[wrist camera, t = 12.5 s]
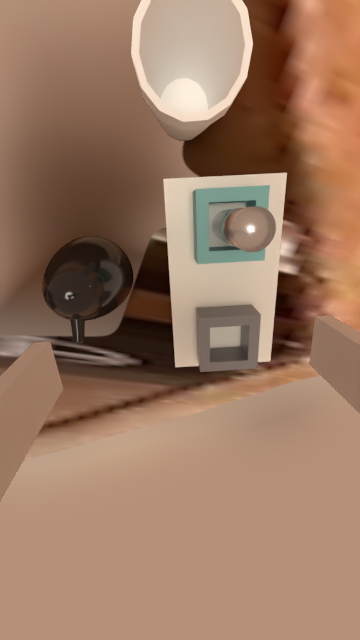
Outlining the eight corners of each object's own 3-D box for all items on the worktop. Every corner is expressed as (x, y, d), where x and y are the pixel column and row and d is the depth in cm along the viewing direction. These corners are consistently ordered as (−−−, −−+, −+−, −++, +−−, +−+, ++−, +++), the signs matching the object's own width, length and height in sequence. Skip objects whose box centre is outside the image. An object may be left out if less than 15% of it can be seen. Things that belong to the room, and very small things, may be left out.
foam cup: (213, 161, 35) (236, 131, 23) (142, 148, 34) (127, 111, 22) (227, 69, 31) (265, -22, 19) (149, 53, 31) (137, -53, 18)
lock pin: (212, 241, 37) (231, 253, 25) (211, 210, 36) (232, 207, 23) (240, 239, 37) (274, 251, 25) (241, 208, 36) (277, 205, 23)
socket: (194, 258, 38) (197, 264, 34) (192, 192, 35) (195, 189, 30) (254, 255, 38) (264, 260, 34) (257, 188, 35) (269, 185, 31)
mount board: (175, 362, 46) (175, 383, 40) (163, 180, 35) (162, 173, 30) (267, 356, 46) (280, 376, 40) (282, 174, 36) (303, 166, 30)
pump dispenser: (74, 305, 41) (25, 352, 27) (59, 236, 37) (-7, 248, 23) (140, 301, 41) (125, 345, 27) (131, 231, 38) (109, 241, 23)
